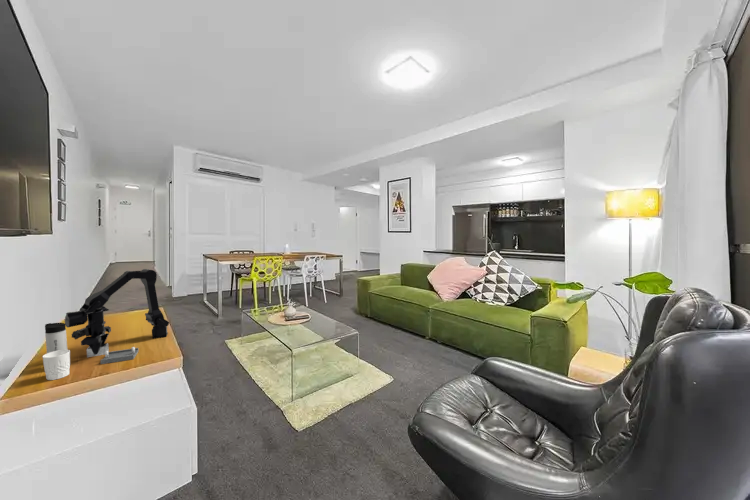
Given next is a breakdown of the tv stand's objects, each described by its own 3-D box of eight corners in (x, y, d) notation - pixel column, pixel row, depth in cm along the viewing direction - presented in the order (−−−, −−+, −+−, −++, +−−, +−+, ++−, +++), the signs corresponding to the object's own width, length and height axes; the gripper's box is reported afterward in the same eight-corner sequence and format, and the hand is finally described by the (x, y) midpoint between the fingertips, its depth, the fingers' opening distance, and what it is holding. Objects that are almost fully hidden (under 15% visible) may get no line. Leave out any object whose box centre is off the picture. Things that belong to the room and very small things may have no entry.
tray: (138, 351, 149) (138, 343, 149) (133, 359, 141) (133, 350, 140) (107, 356, 144) (107, 347, 143) (100, 364, 135) (100, 355, 135)
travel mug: (57, 363, 135) (53, 321, 134) (72, 363, 136) (69, 321, 134) (42, 370, 129) (39, 326, 127) (59, 370, 130) (55, 326, 128)
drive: (108, 351, 149) (108, 342, 149) (106, 354, 146) (105, 345, 145) (90, 354, 146) (89, 345, 146) (87, 357, 142) (86, 348, 142)
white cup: (75, 373, 127) (74, 351, 126) (50, 382, 119) (49, 358, 119) (65, 370, 129) (63, 348, 129) (39, 379, 122) (38, 355, 121)
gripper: (82, 318, 149) (84, 347, 150) (64, 330, 132) (67, 363, 134) (110, 315, 154) (112, 344, 155) (97, 326, 138) (99, 358, 139)
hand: (98, 352), depth 146 cm, fingers open, 6 cm apart
